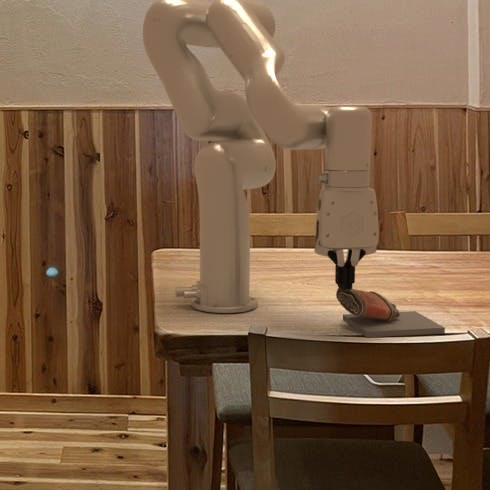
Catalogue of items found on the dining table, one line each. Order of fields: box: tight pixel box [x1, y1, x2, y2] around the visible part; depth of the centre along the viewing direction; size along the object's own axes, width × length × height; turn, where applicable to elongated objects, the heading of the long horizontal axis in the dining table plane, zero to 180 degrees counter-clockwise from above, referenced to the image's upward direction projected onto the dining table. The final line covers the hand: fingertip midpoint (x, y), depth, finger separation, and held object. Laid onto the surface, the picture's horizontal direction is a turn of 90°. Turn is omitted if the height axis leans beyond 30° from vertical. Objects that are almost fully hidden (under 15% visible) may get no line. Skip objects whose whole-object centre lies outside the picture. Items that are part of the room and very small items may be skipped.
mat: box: [342, 310, 446, 338], centre depth 140 cm, size 14×12×1 cm
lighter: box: [335, 287, 401, 322], centre depth 140 cm, size 8×3×10 cm
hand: (344, 287), depth 137 cm, fingers closed
